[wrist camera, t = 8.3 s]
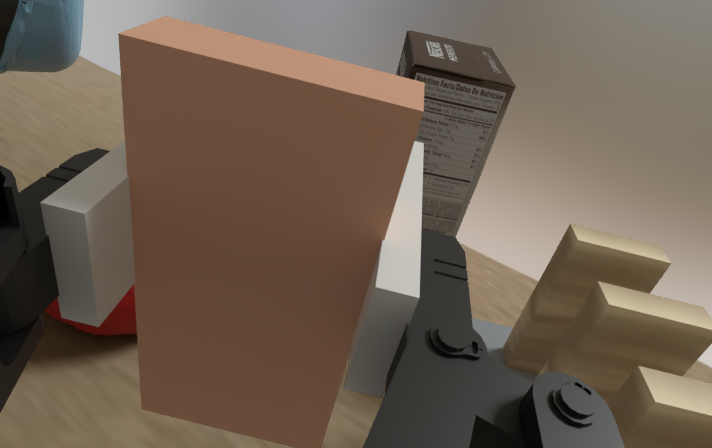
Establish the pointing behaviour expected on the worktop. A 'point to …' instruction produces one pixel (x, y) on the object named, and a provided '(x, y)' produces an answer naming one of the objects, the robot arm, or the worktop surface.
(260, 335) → the tile
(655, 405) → the tile
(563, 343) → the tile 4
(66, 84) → the worktop surface
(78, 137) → the worktop surface
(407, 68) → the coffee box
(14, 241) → the robot arm
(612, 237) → the wooden block
